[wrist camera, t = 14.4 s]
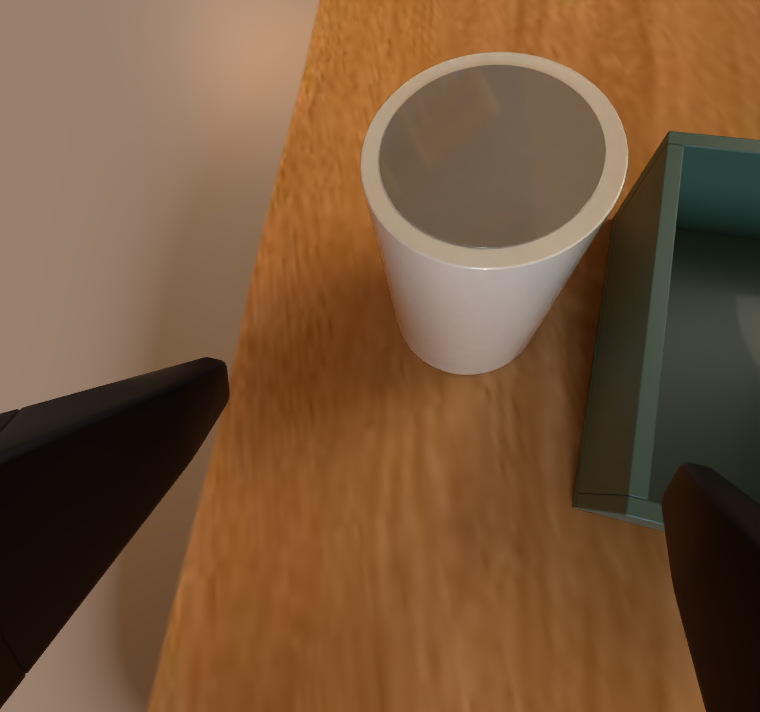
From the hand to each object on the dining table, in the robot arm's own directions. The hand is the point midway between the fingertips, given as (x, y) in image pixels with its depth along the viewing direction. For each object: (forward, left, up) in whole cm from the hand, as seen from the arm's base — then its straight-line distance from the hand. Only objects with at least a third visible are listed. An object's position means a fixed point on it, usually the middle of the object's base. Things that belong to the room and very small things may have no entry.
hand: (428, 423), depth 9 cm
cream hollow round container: (+7, +5, -11) cm, 15 cm away
